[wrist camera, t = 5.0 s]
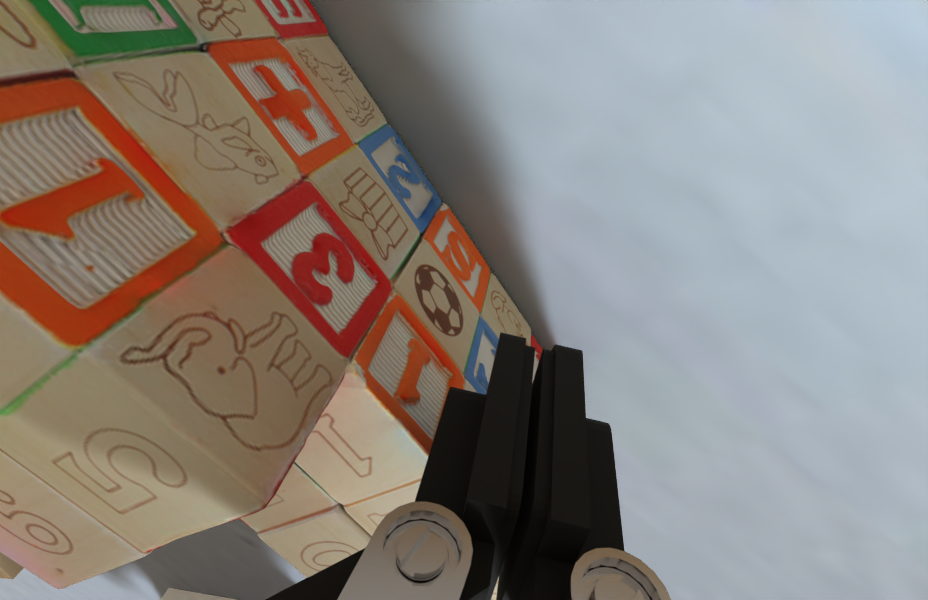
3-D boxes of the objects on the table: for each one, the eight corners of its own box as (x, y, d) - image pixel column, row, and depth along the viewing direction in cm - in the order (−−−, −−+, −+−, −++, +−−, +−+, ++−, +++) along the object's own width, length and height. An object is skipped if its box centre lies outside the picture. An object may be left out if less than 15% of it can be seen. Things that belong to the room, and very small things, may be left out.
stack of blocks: (575, 383, 20) (593, 793, 10) (450, 429, 23) (360, 794, 12) (175, -202, 12) (-1696, -1181, 2) (56, -33, 15) (-1060, -103, 5)
